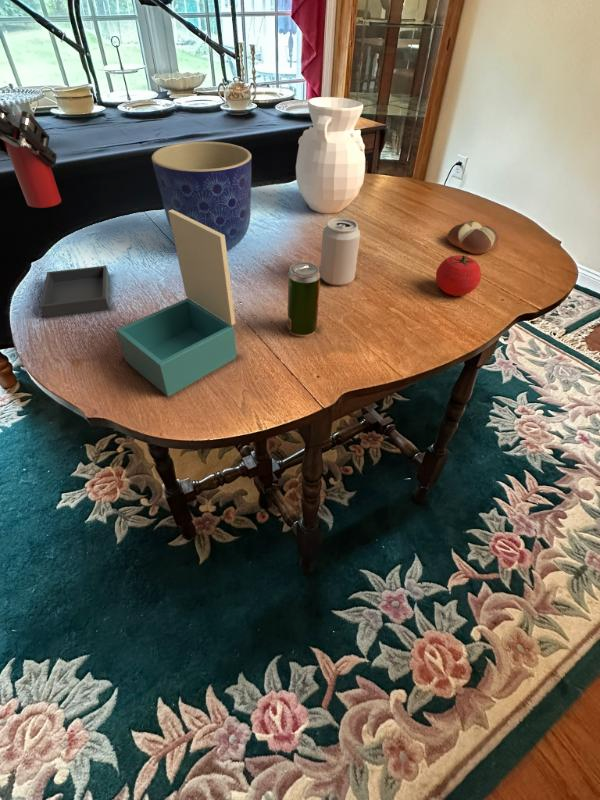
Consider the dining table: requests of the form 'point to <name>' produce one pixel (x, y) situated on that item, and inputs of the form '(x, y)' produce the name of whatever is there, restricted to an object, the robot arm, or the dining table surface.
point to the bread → (473, 237)
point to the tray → (76, 292)
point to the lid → (203, 265)
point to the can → (339, 251)
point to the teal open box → (177, 345)
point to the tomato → (458, 275)
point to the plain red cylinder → (33, 176)
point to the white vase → (331, 155)
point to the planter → (207, 185)
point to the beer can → (303, 298)
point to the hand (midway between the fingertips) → (37, 159)
